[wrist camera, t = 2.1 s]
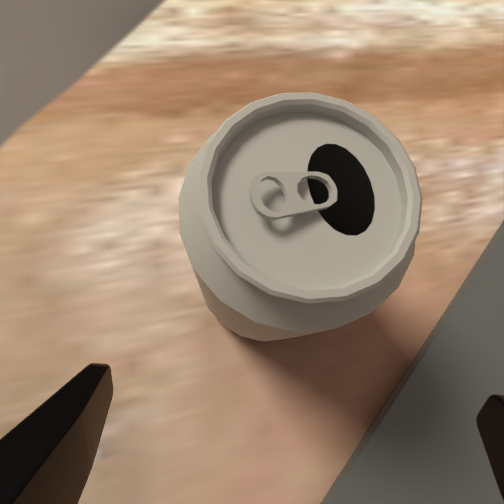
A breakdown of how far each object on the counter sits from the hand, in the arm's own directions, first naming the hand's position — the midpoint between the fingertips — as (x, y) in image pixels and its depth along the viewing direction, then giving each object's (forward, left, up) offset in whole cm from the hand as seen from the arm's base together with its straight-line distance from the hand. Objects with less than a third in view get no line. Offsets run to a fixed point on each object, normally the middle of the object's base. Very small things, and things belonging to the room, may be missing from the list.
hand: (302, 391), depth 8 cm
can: (+4, +3, -12) cm, 13 cm away
